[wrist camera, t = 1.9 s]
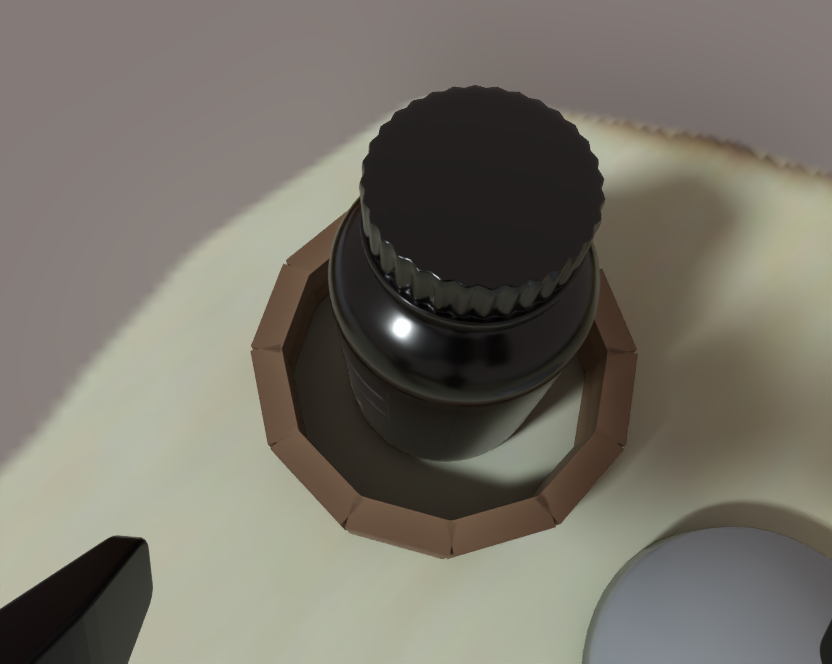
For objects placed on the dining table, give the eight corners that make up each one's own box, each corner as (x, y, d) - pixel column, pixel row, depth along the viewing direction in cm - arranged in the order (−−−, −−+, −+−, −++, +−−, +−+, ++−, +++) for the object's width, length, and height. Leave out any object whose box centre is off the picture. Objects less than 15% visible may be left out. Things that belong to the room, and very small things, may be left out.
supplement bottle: (487, 269, 24) (570, 12, 13) (562, 425, 22) (737, 273, 11) (324, 323, 23) (265, 91, 12) (385, 494, 21) (382, 401, 10)
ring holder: (674, 374, 23) (706, 352, 21) (446, 639, 19) (454, 648, 17) (436, 175, 26) (440, 136, 24) (198, 371, 22) (177, 348, 20)
